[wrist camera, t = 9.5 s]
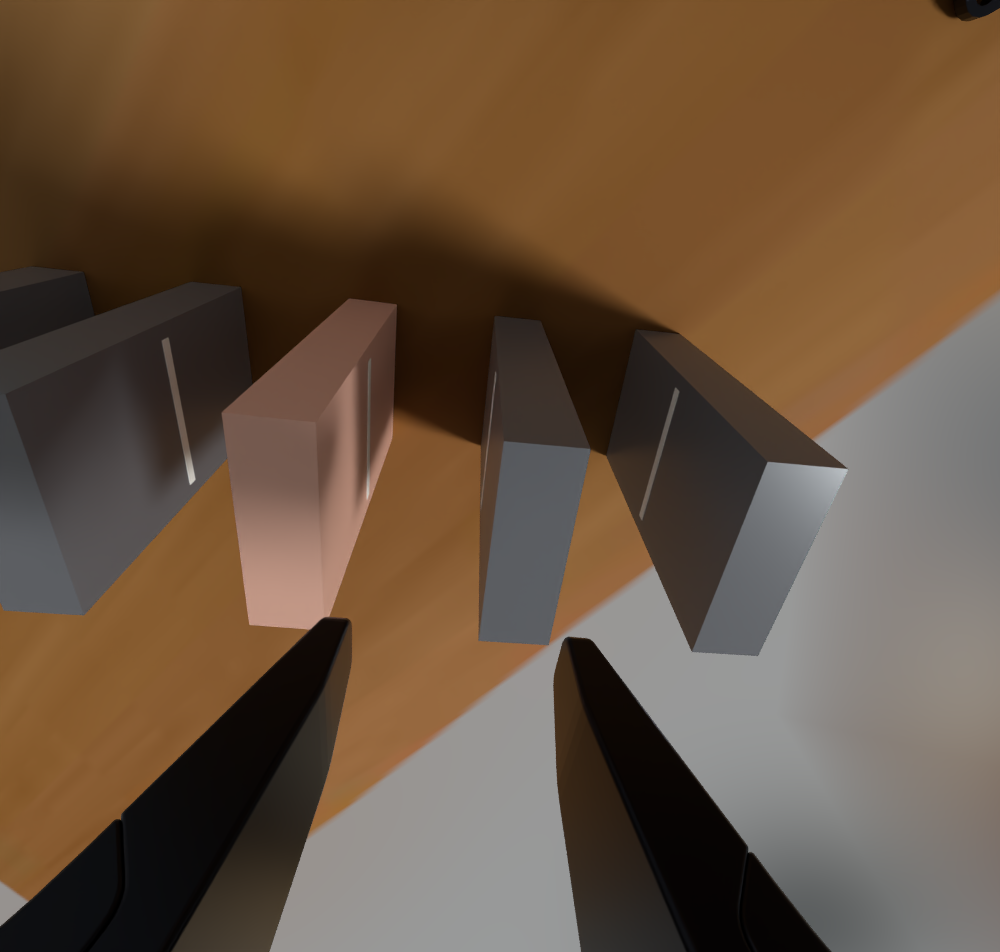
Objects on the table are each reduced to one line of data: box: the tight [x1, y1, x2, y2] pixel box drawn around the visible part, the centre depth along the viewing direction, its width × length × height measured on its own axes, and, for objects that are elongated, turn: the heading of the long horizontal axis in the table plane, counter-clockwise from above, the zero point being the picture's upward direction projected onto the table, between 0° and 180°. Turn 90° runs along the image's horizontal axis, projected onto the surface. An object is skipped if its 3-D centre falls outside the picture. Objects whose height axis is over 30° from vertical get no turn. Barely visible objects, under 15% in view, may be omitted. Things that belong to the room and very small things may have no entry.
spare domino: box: [222, 298, 397, 629], centre depth 15 cm, size 2×5×10 cm, turn 173°
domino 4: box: [0, 282, 253, 615], centre depth 14 cm, size 2×5×10 cm, turn 174°
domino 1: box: [606, 329, 848, 656], centre depth 16 cm, size 2×5×10 cm, turn 174°
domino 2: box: [479, 316, 591, 645], centre depth 15 cm, size 2×5×10 cm, turn 174°
